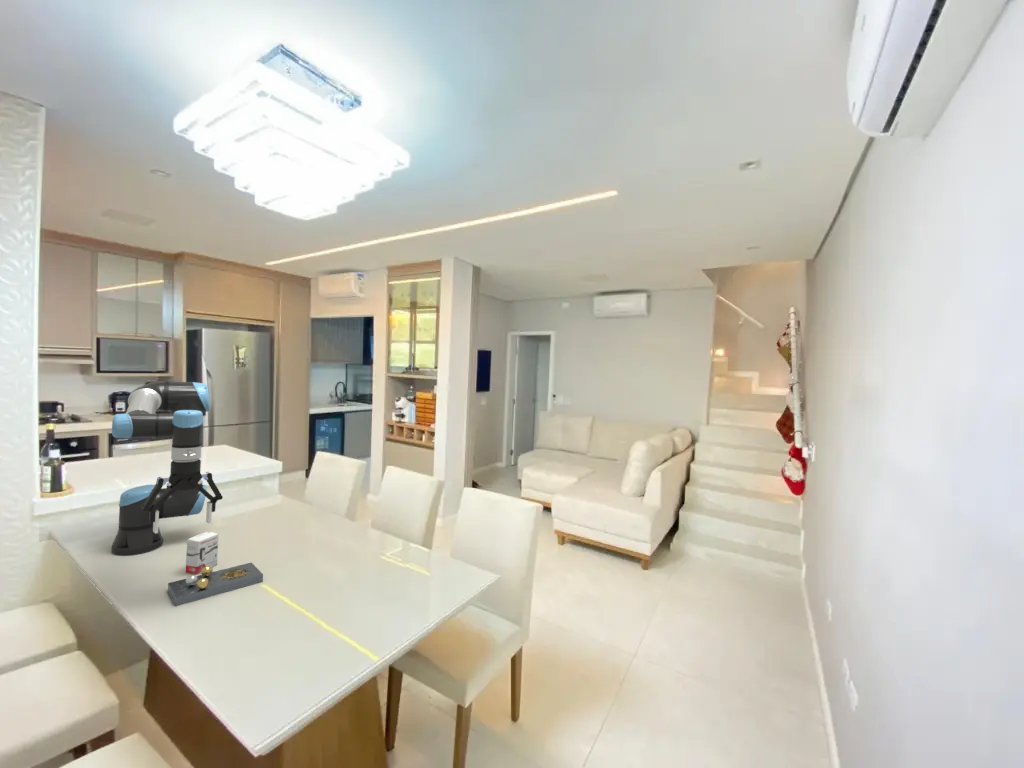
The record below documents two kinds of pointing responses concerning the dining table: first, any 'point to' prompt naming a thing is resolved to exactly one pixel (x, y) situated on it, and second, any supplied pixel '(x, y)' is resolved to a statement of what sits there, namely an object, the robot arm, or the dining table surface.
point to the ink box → (201, 552)
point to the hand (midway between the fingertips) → (183, 527)
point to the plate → (215, 583)
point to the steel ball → (191, 580)
